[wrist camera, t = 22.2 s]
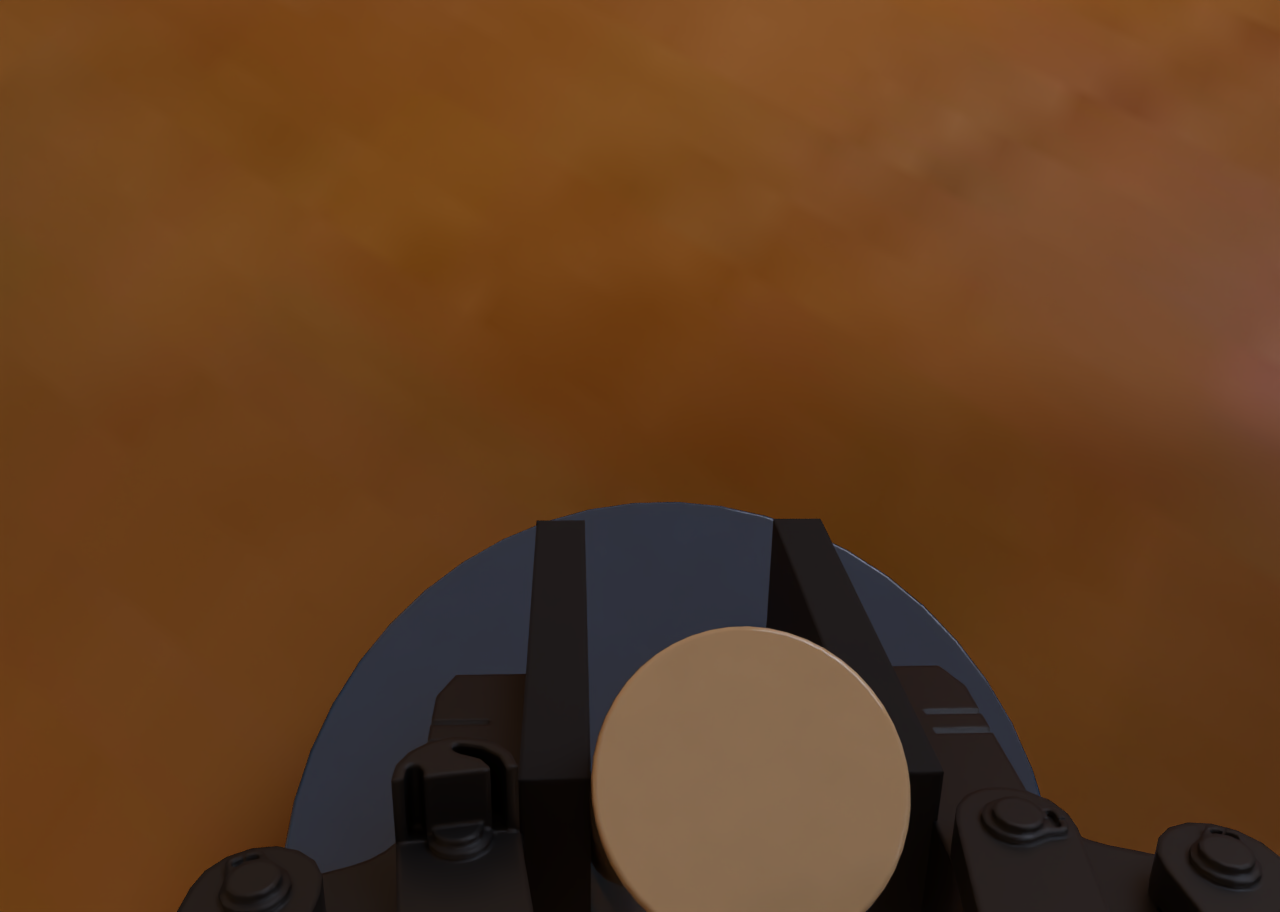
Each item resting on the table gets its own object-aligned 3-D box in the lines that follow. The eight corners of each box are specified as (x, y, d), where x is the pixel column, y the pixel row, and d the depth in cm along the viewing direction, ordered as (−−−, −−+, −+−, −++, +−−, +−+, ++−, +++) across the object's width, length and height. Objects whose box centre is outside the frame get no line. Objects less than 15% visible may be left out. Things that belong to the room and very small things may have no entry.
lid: (841, 438, 24) (1016, 92, 14) (1176, 1102, 19) (1759, 1234, 10) (216, 657, 21) (-69, 411, 12) (425, 1482, 16) (226, 2157, 7)
